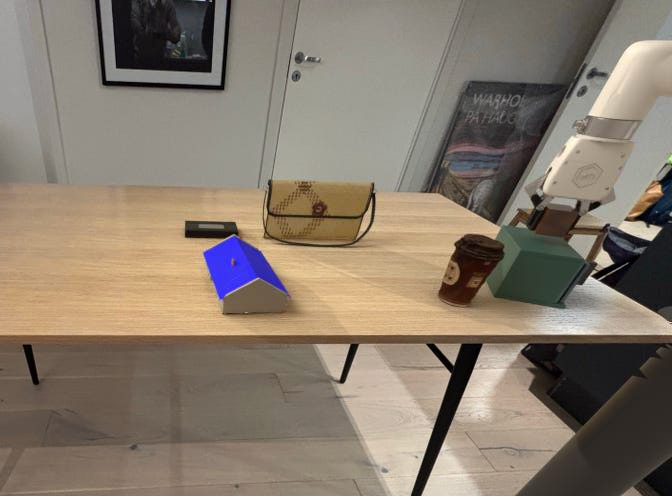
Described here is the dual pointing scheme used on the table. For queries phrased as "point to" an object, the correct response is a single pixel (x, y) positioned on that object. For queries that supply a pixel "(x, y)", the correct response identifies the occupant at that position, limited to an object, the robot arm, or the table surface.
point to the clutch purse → (317, 210)
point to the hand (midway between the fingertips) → (546, 229)
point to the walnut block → (556, 220)
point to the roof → (244, 278)
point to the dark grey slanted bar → (579, 277)
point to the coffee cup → (469, 268)
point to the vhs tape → (210, 229)
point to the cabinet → (533, 267)
